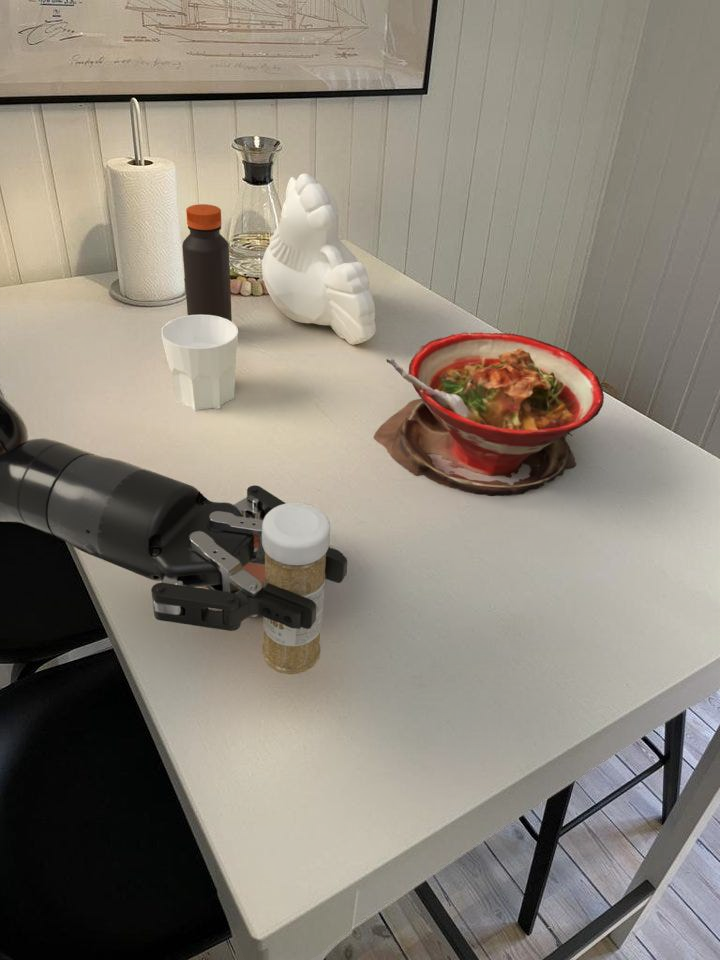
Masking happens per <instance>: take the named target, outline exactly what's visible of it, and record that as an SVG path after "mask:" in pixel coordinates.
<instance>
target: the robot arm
mask: <svg viewBox="0 0 720 960" xmlns="http://www.w3.org/2000/svg"><path fill="white" fill-rule="evenodd" d="M286 503H287V502H285V501H283V500H281V499H280V498H278V497H277V496H276V495H274V494H273V493H271V492H269V491H267V490H266V489H265V488H263V487H261V486H260V485H250V486H248V487H247V489H246V497H244V498H242V499H241V500H239V501H237V502H236V503H234V504H233V503H230V502H217V501H211V500H209V499H208V498H207V497H206V496H204V494H202V492H200V490H199V489H198V488H197V487H195V486H193V485H191V484H188V483H185V482H182V481H181V480H180V481H179V480H177V479H174V478H171V477H168V476H166V475H163V474H160V473H157V472H154V471H152V470H150V469H146V468H143V467H141V466H138V465H135V464H132V463H129V462H127V461H123V460H121V459H117V458H111V457H106V456H102V455H98V454H94V453H92V452H90V451H87V450H84V449H81V448H77V447H76V446H73V445H70V444H68V443H64V442H61V441H58V440H55V439H50V438H46V437H39V438H32V439H29V430H28V427H27V424H26V422H25V420H24V418H23V417H22V415H21V414H20V413H19V411H17V410H16V409H15V407H14V406H13V405H12V404H11V403H10V402H9V401H8V400H7V399H6V398H5V396H3V395H2V393H0V522H3V523H17V524H18V523H19V524H23V525H26V526H28V527H31V528H32V529H35V530H37V531H40V532H42V533H45V534H47V535H50V536H52V537H55V538H58V539H60V540H62V541H64V542H65V543H67V544H69V545H71V546H72V547H74V548H76V549H77V550H79V551H80V552H83V553H86V554H88V555H90V556H93V557H95V558H98V559H100V560H101V561H104V562H107V563H109V564H112V565H114V566H117V567H120V568H122V569H125V570H127V571H129V572H132V573H134V574H137V575H139V576H142V577H144V578H147V579H148V580H151V581H154V582H158V583H155V584H154V585H152V587H151V599H152V607H153V614H154V618H155V619H156V620H157V621H161V622H169V623H175V624H181V625H188V626H194V627H200V628H201V627H202V628H208V629H213V630H221V631H229V632H235V631H237V630H239V629H240V627H241V625H242V622H243V621H244V620H247V619H248V618H249V617H252V618H254V617H258V616H260V617H265V618H268V619H270V620H273V621H275V622H279V623H280V624H283V625H285V626H288V627H290V628H295V629H300V628H301V627H302V628H305V629H310V628H311V627H312V625H313V624H314V622H315V621H316V608H317V606H316V604H315V602H314V601H312V600H311V599H308V598H305V597H303V596H300V595H298V594H295V593H293V592H290V591H288V590H285V589H282V588H279V587H277V586H275V585H272V584H270V583H268V584H267V585H266V586H265V588H263V587H262V583H261V582H260V581H259V580H258V579H256V578H255V577H254V576H252V575H251V574H249V573H248V572H247V571H245V570H244V569H243V566H245V565H246V564H248V563H253V564H260V565H265V552H264V548H263V546H262V523H263V520H264V518H265V516H266V514H267V513H268V512H269V511H271V510H272V509H273V508H275V507H277V506H279V505H282V504H286ZM254 535H255V536H257V537H258V539H259V548H254ZM348 561H349V560H348V559H347V557H346V556H345V555H344V553H342V552H341V551H340V550H339V549H336V548H333V547H331V546H329V548H328V550H327V553H326V563H325V580H328V581H330V582H334V583H336V584H341V583H342V582H343V581H344V580H345V578H346V577H347V572H348ZM202 586H203V587H204V586H205V587H206V588H208V589H203V588H202ZM214 609H215V610H214Z"/></svg>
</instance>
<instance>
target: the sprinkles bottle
mask: <svg viewBox="0 0 720 960" xmlns="http://www.w3.org/2000/svg"><path fill="white" fill-rule="evenodd" d="M285 503H286V504H282V505H279V506H277V507H275V508H273V509H272V510H271V511H269V512H268V513H267V514H266V516H265V518H264V520H263V523H262V546H263V548H264V552H265V581H264V588H265V586H266V585H267V584H268V583H270V584H272V585H275V586H277V587H279V588H282V589H285V590H288V591H290V592H293V593H295V594H298V595H300V596H303V597H305V598H308V599H311V600H312V601H314V602H315V604H316V606H317V608H316V621H315V622H314V624H313V625H312V627H311V628H310V629H305V628H302V627H301V628H300V629H295V628H290V627H288V626H285V625H283V624H280V623H279V622H275V621H273V620H270V619H268V618H265V617H263V616H262V617H263V618H262V624H263V642H262V647H261V655H262V658H263V660H264V663H266V665H267V666H268V667H269V668H271V669H272V670H274V671H276V672H277V673H280V674H285V675H299V674H302V673H305V672H308V670H310V669H311V668H313V667H314V666H315V665H316V664H317V663H318V661H319V660H320V656H321V631H322V627H323V626H322V625H323V614H324V602H325V586H326V579H325V563H326V553H327V550H328V548H329V547H330V541H331V523H330V519H329V517H328V516H327V514H325V512H323V511H322V510H321V509H319V508H318V507H316V506H314V505H312V504H309V503H305V502H285Z"/></svg>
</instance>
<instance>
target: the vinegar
mask: <svg viewBox="0 0 720 960" xmlns="http://www.w3.org/2000/svg"><path fill="white" fill-rule="evenodd" d="M185 211H186V213H185V214H186V225H187V229H188V230H189V234H188V235H187V237H185V239H184V240H183V241H182V246H181V247H182V260H183V261H182V262H183V272H184V287H185V299H186V311H187V316H189V315H213V316H218V317H222V318H225V319H228V320H229V321H231V322H233V319H232V317H233V315H232V291H231V272H230V271H231V268H230V267H231V265H230V245H229V242H228V241H227V240H226V238H225V237H224V236H223V235H222V234H221V233H220V232H221V230H222V209H221V208H220V207H218V206H217V205H213V204H205V203H201V204H193V205H190V206H187V208H186V210H185Z"/></svg>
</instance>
